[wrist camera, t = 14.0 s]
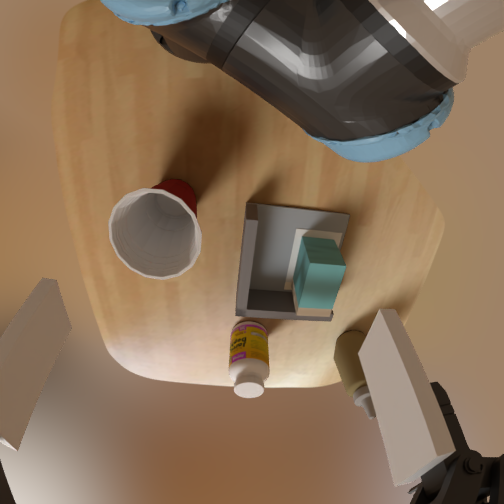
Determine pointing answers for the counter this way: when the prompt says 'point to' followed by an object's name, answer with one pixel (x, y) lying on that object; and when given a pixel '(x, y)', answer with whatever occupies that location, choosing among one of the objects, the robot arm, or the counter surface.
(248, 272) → the corner tray
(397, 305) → the counter surface
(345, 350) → the squeeze bottle
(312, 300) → the teal block
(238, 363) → the supplement bottle
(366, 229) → the counter surface
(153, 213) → the plastic cup
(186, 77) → the counter surface
